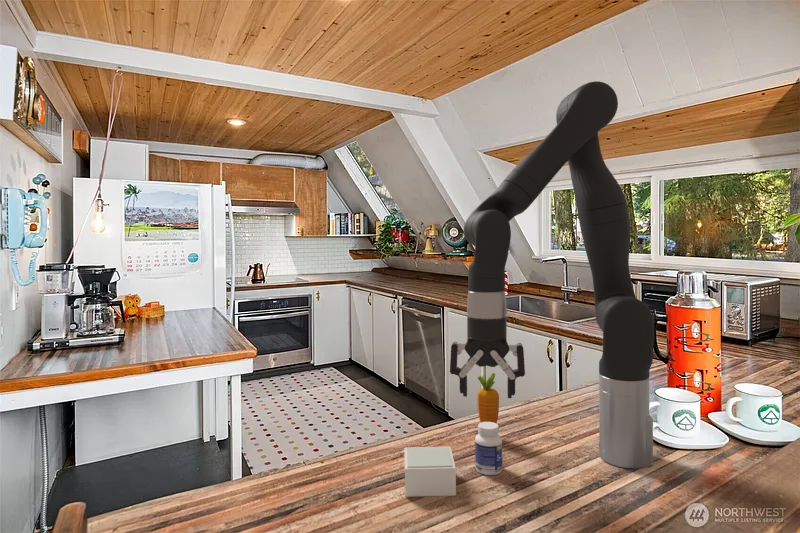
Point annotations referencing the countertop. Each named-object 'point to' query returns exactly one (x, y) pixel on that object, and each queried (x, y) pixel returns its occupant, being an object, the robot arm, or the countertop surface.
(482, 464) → the pill bottle
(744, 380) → the countertop surface
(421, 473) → the pedestal
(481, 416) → the carrot
